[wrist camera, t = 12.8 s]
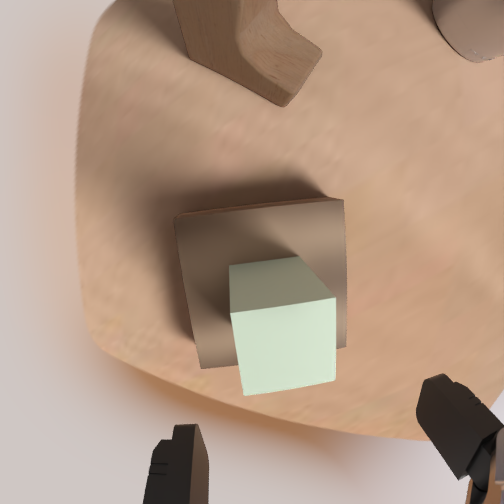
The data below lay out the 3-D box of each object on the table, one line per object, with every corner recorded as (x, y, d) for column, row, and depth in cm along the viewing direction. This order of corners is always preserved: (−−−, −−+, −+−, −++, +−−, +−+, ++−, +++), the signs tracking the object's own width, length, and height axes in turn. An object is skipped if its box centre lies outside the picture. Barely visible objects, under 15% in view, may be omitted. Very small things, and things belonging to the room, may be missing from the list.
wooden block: (309, 69, 22) (428, -58, 5) (283, 110, 23) (396, -6, 6) (217, 20, 21) (215, -144, 3) (187, 59, 21) (139, -101, 4)
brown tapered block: (181, 212, 25) (173, 219, 21) (326, 196, 26) (343, 199, 22) (203, 344, 28) (201, 369, 24) (331, 326, 28) (346, 346, 24)
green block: (228, 265, 22) (230, 312, 14) (299, 256, 22) (335, 297, 14) (238, 328, 23) (243, 395, 15) (303, 319, 23) (335, 380, 16)
